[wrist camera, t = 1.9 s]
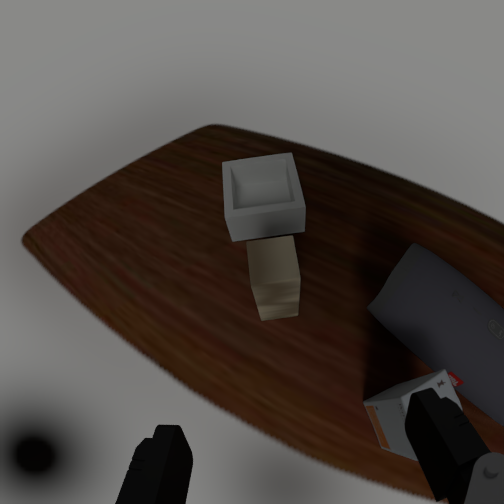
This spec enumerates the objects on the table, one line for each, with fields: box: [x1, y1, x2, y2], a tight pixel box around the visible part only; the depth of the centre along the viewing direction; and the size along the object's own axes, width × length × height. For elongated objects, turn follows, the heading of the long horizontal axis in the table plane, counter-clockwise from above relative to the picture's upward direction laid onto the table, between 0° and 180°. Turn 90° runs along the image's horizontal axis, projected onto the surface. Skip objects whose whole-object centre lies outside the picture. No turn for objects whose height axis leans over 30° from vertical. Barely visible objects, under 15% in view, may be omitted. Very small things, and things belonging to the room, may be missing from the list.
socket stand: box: [222, 153, 306, 242], centre depth 39 cm, size 9×9×5 cm
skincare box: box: [363, 369, 462, 461], centre depth 21 cm, size 6×4×12 cm
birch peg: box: [247, 235, 301, 321], centre depth 30 cm, size 4×4×10 cm
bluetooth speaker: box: [367, 243, 504, 426], centre depth 24 cm, size 23×9×10 cm, turn 45°
